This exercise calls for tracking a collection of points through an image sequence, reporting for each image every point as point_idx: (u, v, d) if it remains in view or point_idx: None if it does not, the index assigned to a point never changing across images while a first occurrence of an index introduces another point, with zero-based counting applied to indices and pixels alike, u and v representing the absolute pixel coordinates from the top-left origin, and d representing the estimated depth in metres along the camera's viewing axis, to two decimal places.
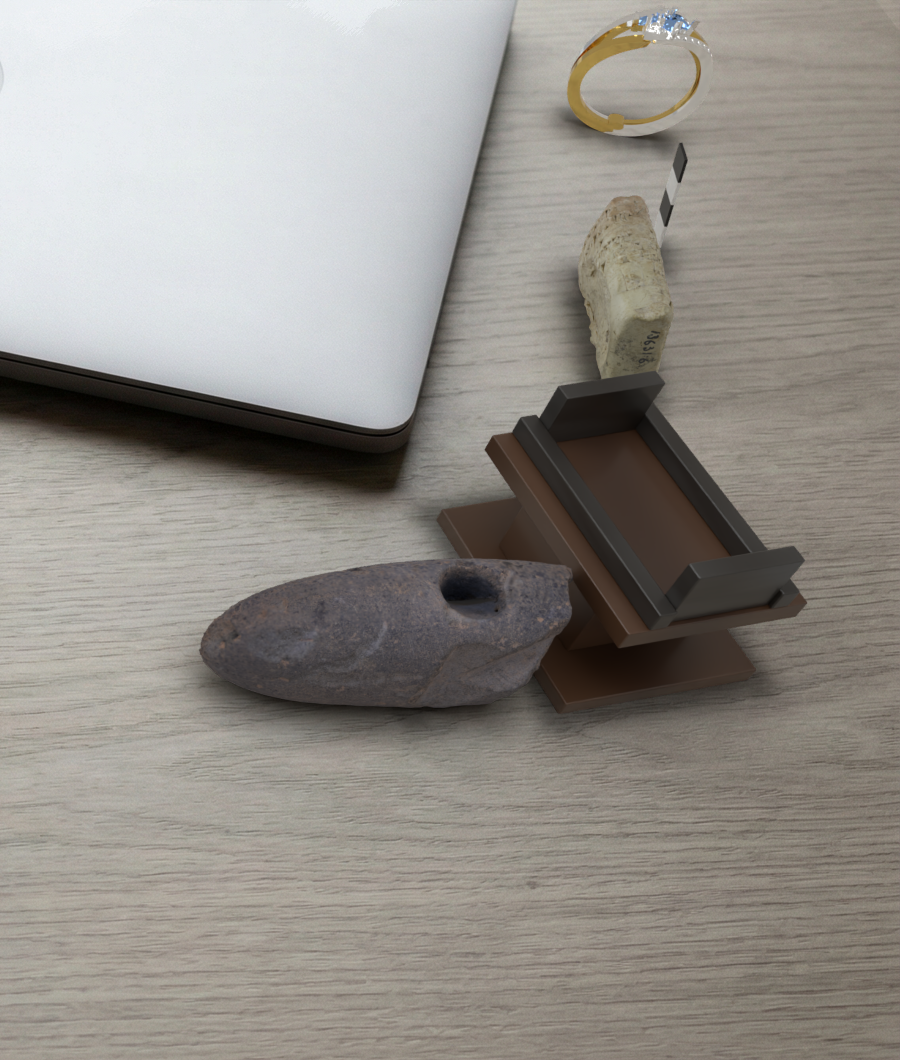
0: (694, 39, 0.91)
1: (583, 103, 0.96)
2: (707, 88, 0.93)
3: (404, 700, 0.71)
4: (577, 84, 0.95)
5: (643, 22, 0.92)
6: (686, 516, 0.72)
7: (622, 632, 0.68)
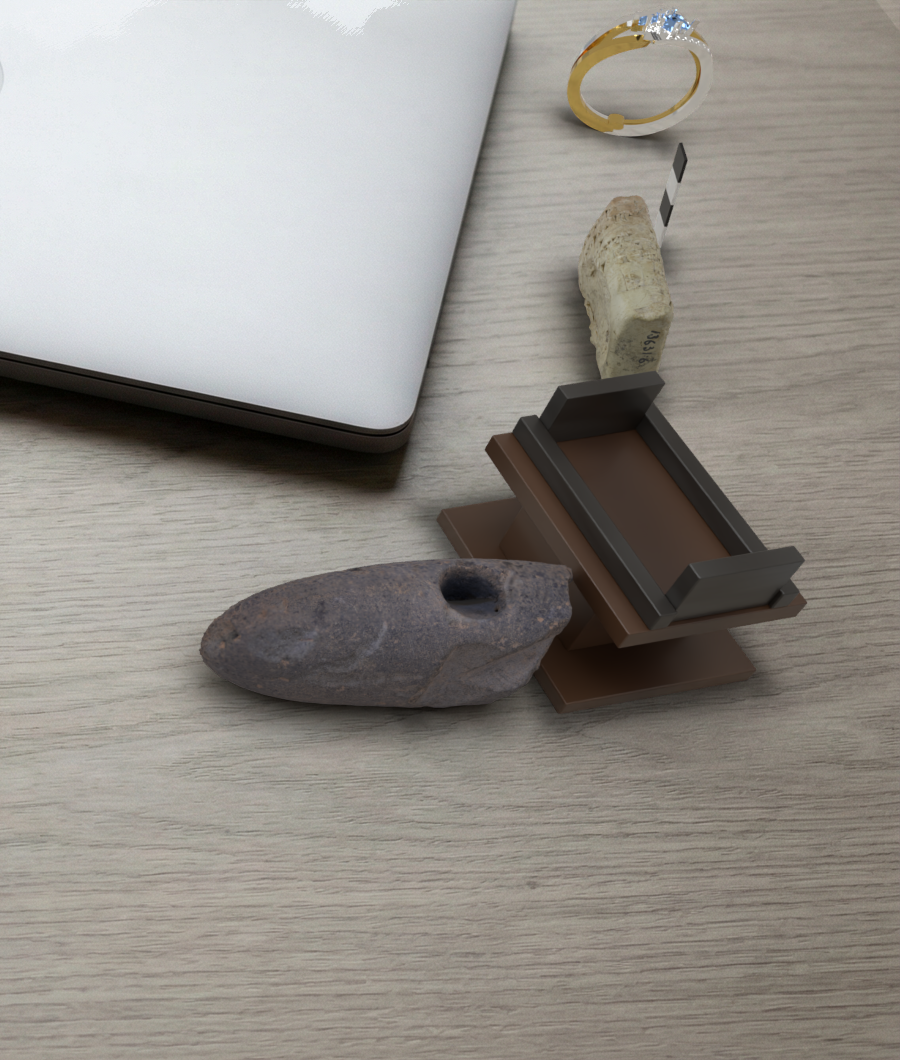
0: (694, 39, 0.91)
1: (583, 103, 0.96)
2: (707, 88, 0.93)
3: (404, 700, 0.71)
4: (577, 84, 0.95)
5: (643, 22, 0.92)
6: (686, 516, 0.72)
7: (622, 632, 0.68)
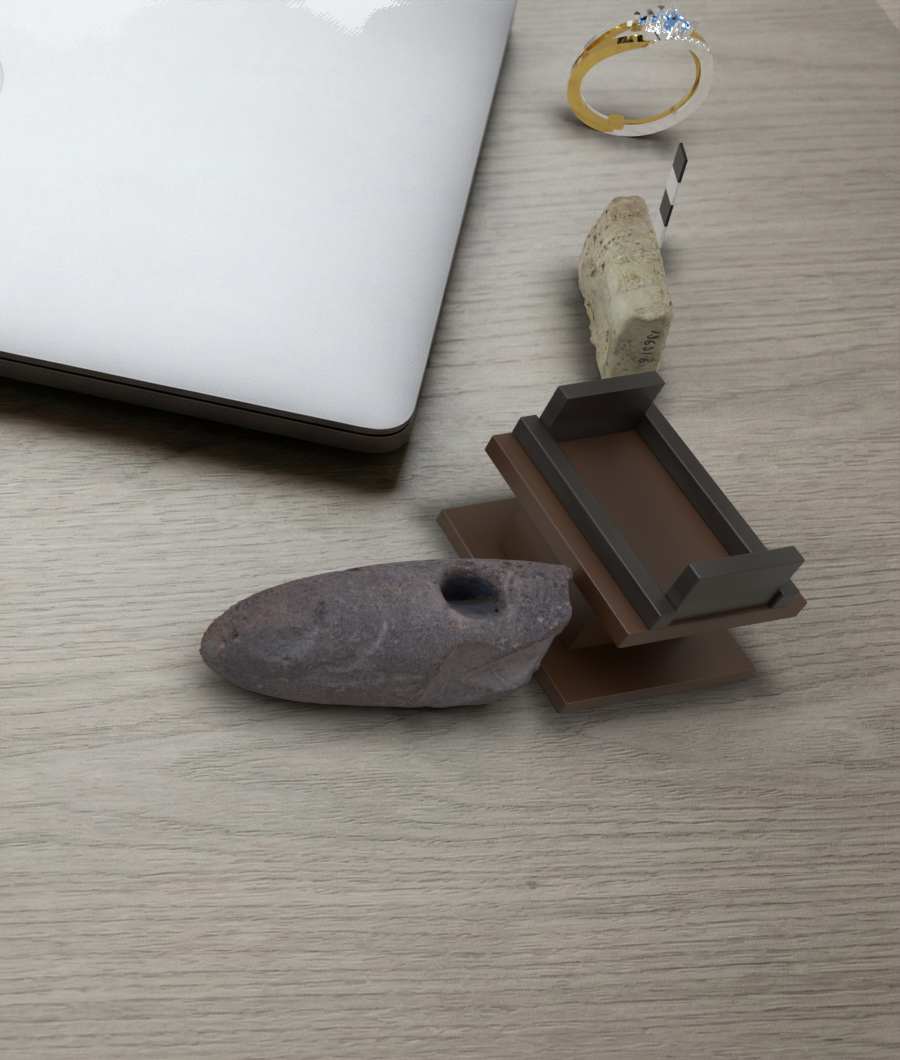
0: (694, 39, 0.91)
1: (583, 103, 0.96)
2: (707, 88, 0.93)
3: (404, 700, 0.71)
4: (577, 84, 0.95)
5: (643, 22, 0.92)
6: (686, 516, 0.72)
7: (622, 632, 0.68)
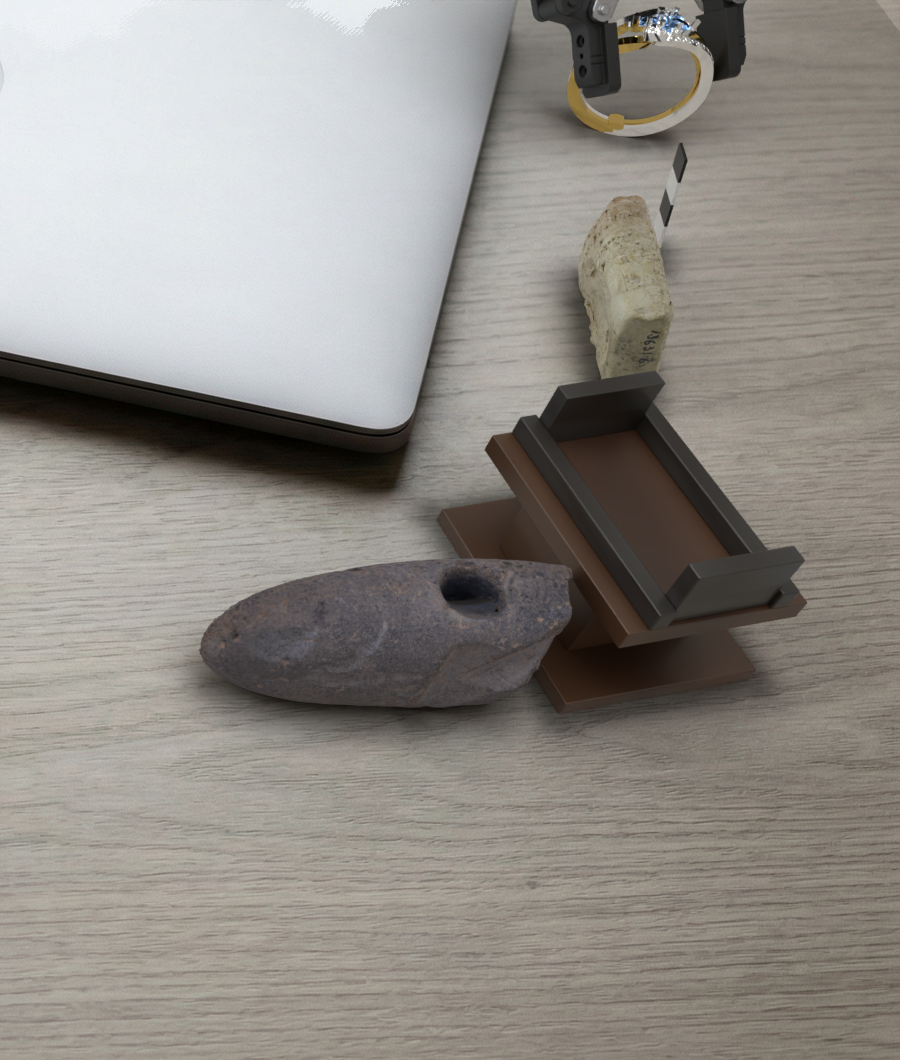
0: (694, 40, 0.91)
1: (583, 103, 0.96)
2: (707, 89, 0.93)
3: (404, 700, 0.71)
4: None
5: (643, 23, 0.92)
6: (686, 516, 0.72)
7: (622, 632, 0.68)
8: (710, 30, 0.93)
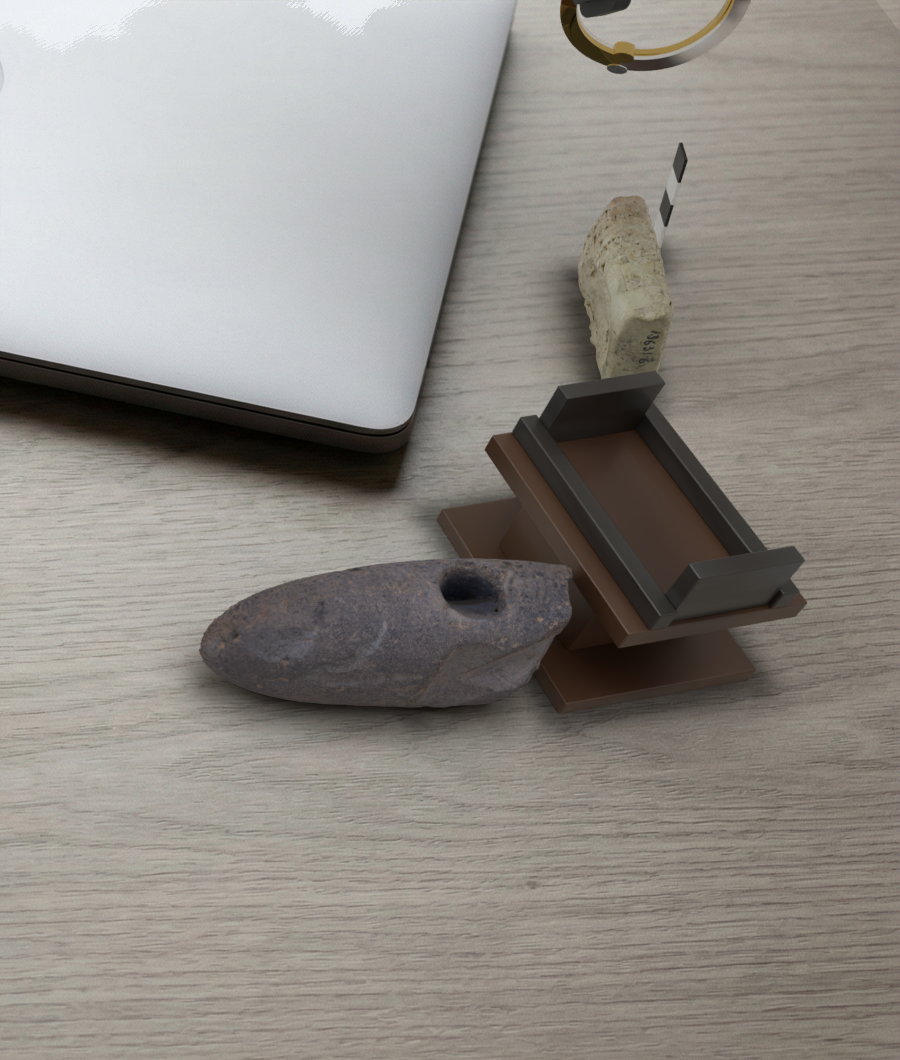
0: None
1: (581, 27, 0.73)
2: (745, 5, 0.70)
3: (404, 700, 0.71)
4: None
5: None
6: (686, 516, 0.72)
7: (622, 632, 0.68)
8: None
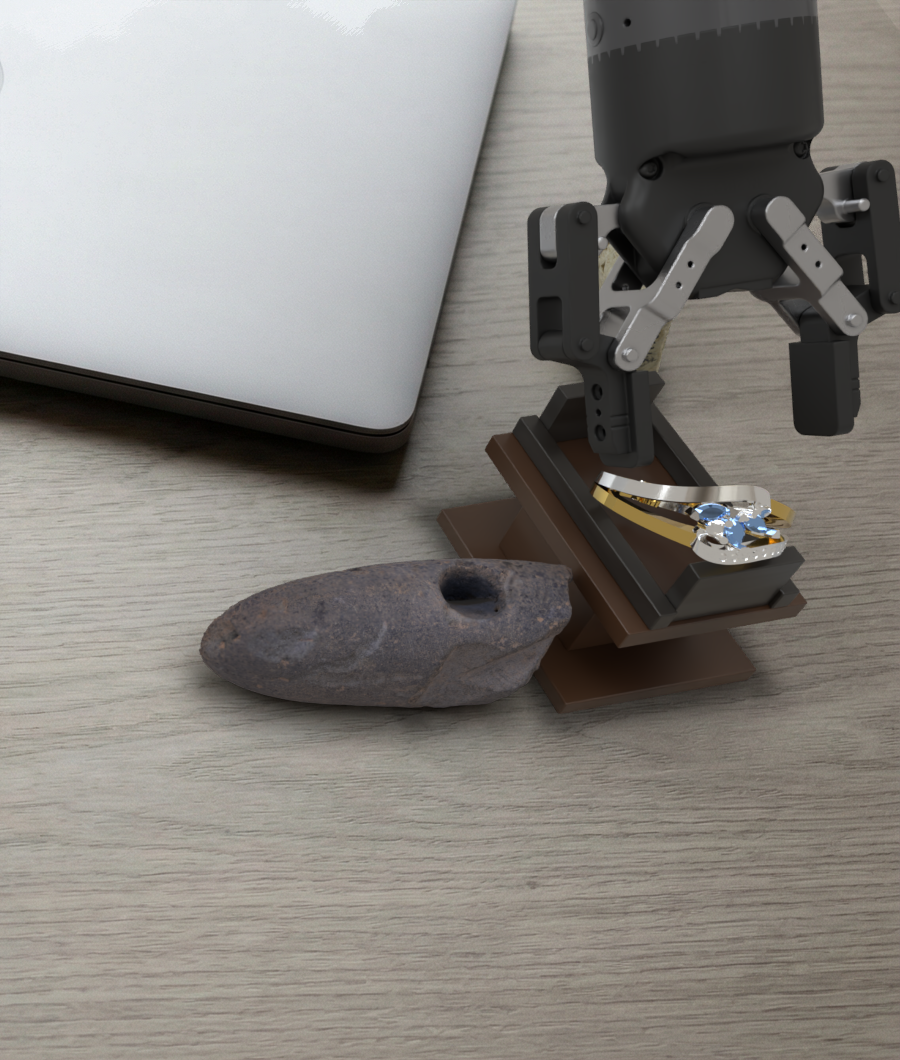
0: (762, 549, 0.65)
1: None
2: None
3: (404, 700, 0.71)
4: None
5: (702, 517, 0.64)
6: (686, 516, 0.72)
7: (622, 632, 0.68)
8: (810, 367, 0.67)
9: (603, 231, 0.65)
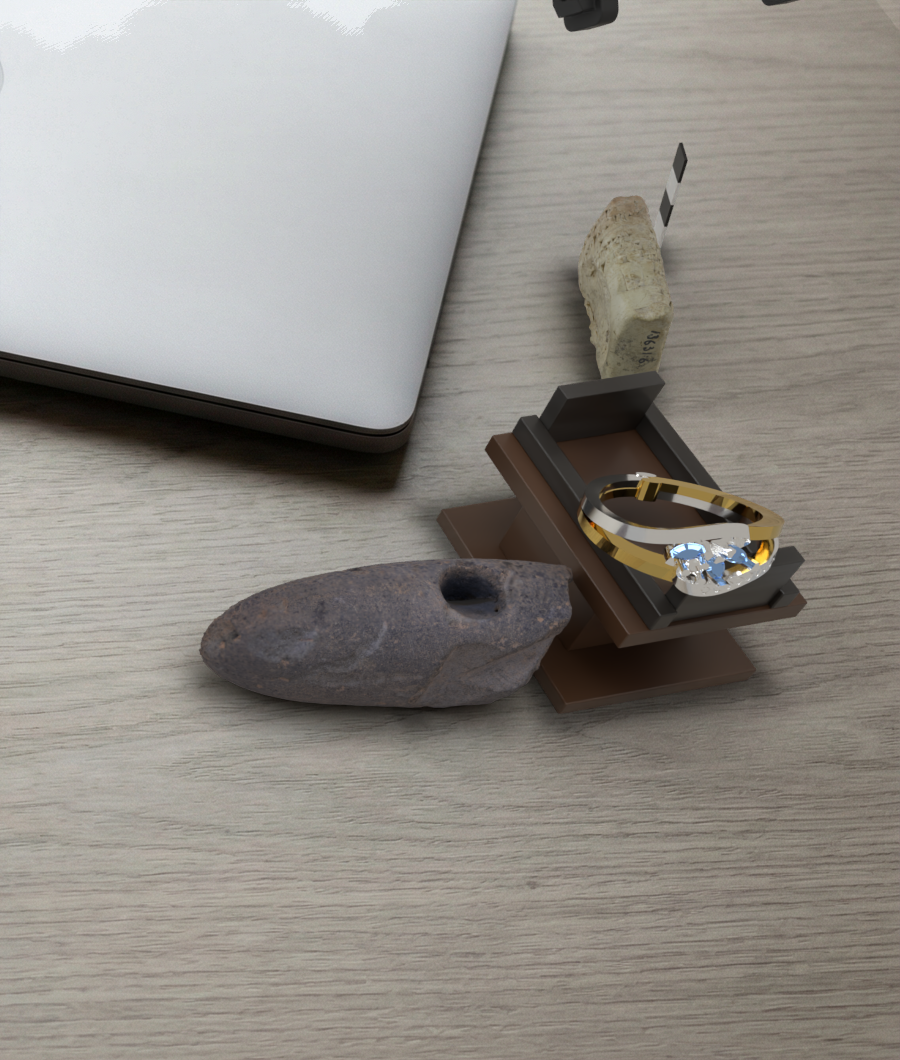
0: (746, 574, 0.65)
1: (602, 499, 0.70)
2: None
3: (404, 700, 0.71)
4: None
5: (679, 558, 0.65)
6: (686, 516, 0.72)
7: (622, 632, 0.68)
8: None
9: None
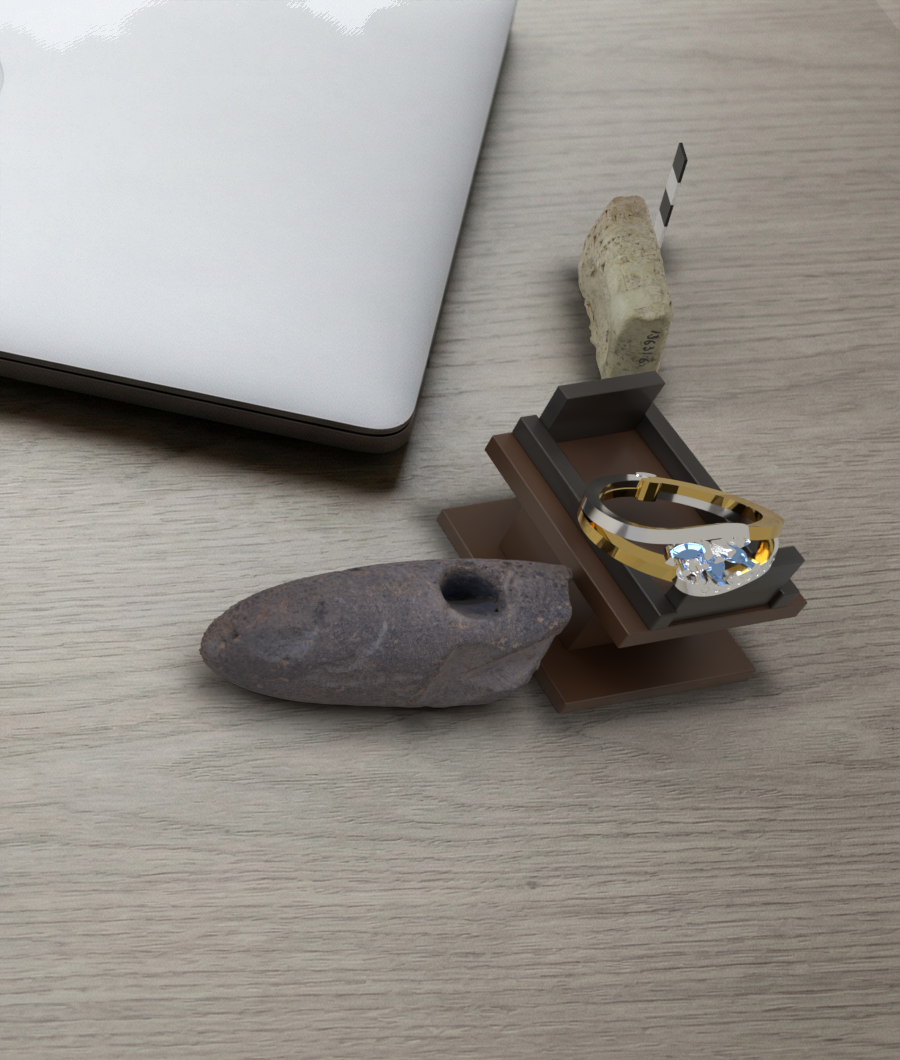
0: (746, 574, 0.65)
1: (602, 499, 0.70)
2: None
3: (404, 700, 0.71)
4: None
5: (679, 558, 0.65)
6: (686, 516, 0.72)
7: (622, 632, 0.68)
8: None
9: None
